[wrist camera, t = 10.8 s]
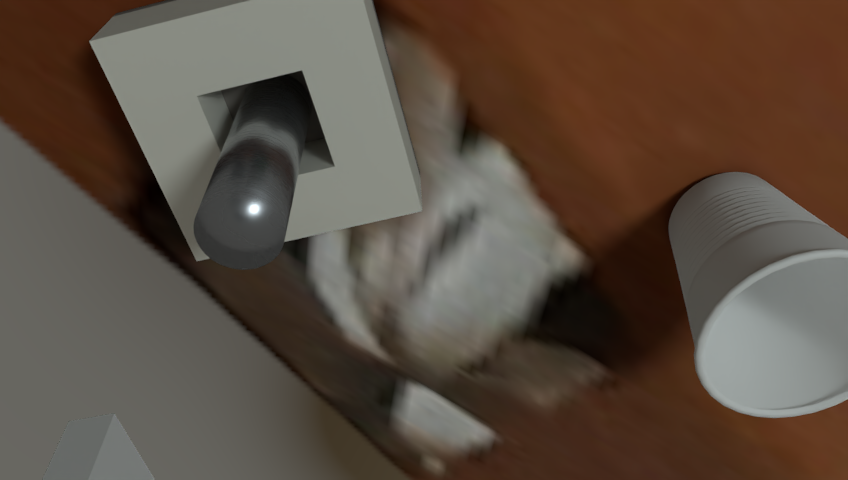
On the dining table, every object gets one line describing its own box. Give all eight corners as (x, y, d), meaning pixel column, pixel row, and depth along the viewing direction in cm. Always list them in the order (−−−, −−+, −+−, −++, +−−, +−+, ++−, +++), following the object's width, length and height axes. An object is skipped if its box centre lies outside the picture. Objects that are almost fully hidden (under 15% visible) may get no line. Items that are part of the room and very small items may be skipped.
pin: (233, 81, 39) (179, 204, 29) (299, 65, 38) (267, 184, 28) (257, 141, 41) (213, 277, 31) (320, 127, 40) (296, 259, 30)
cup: (714, 310, 48) (790, 446, 39) (597, 234, 45) (650, 363, 36) (844, 196, 44) (963, 319, 35) (726, 103, 41) (823, 211, 32)
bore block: (116, 13, 37) (88, 41, 34) (358, -50, 36) (355, -27, 33) (211, 220, 44) (196, 261, 40) (420, 173, 42) (422, 211, 39)
